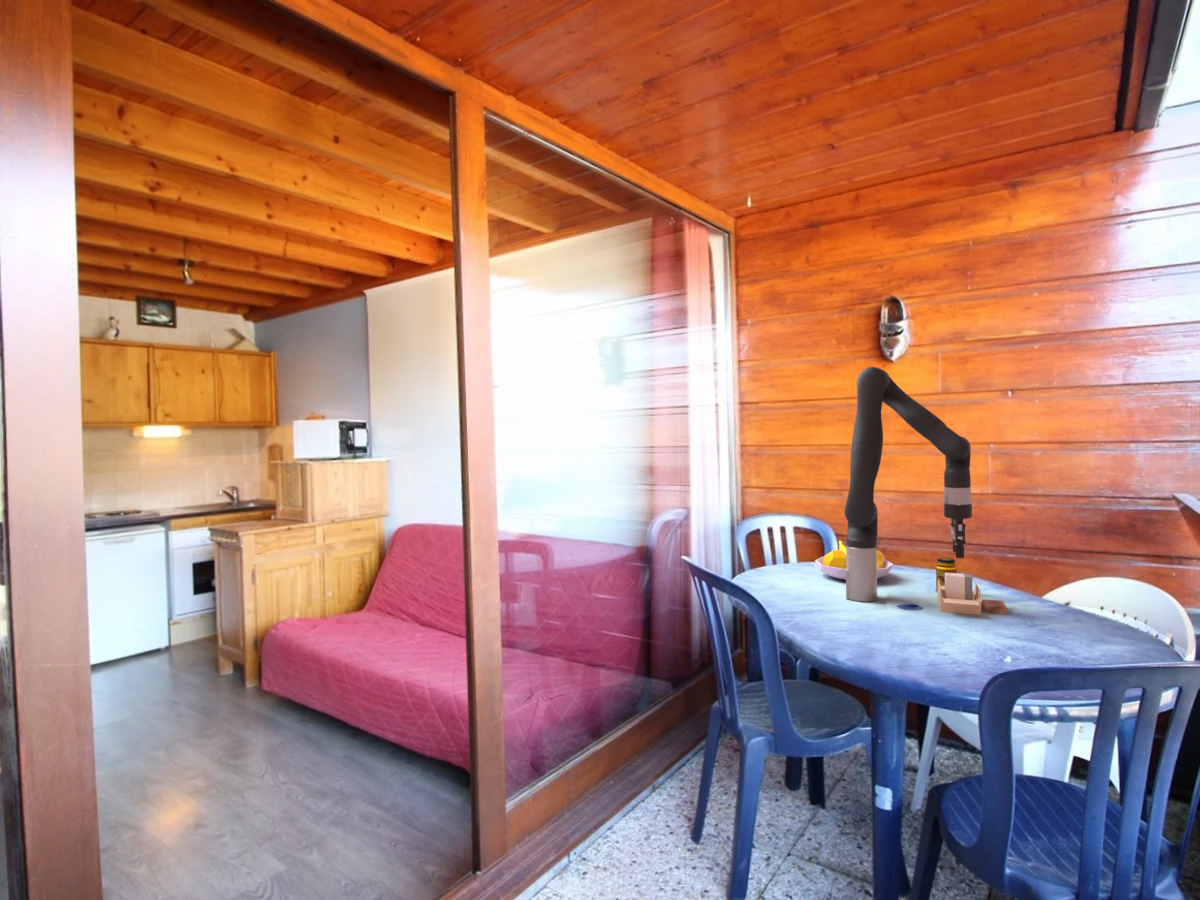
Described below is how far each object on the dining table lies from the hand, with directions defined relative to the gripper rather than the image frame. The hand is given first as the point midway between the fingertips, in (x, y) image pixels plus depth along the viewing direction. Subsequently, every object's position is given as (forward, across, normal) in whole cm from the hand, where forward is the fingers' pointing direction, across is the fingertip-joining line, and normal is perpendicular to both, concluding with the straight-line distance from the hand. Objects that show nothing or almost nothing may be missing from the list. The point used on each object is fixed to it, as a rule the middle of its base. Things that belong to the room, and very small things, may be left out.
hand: (958, 555), depth 196 cm
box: (+16, 0, 0) cm, 16 cm away
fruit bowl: (+17, -35, -32) cm, 50 cm away
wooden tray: (+17, 0, 0) cm, 17 cm away
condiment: (+17, -19, -3) cm, 26 cm away
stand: (+17, -1, +9) cm, 19 cm away
